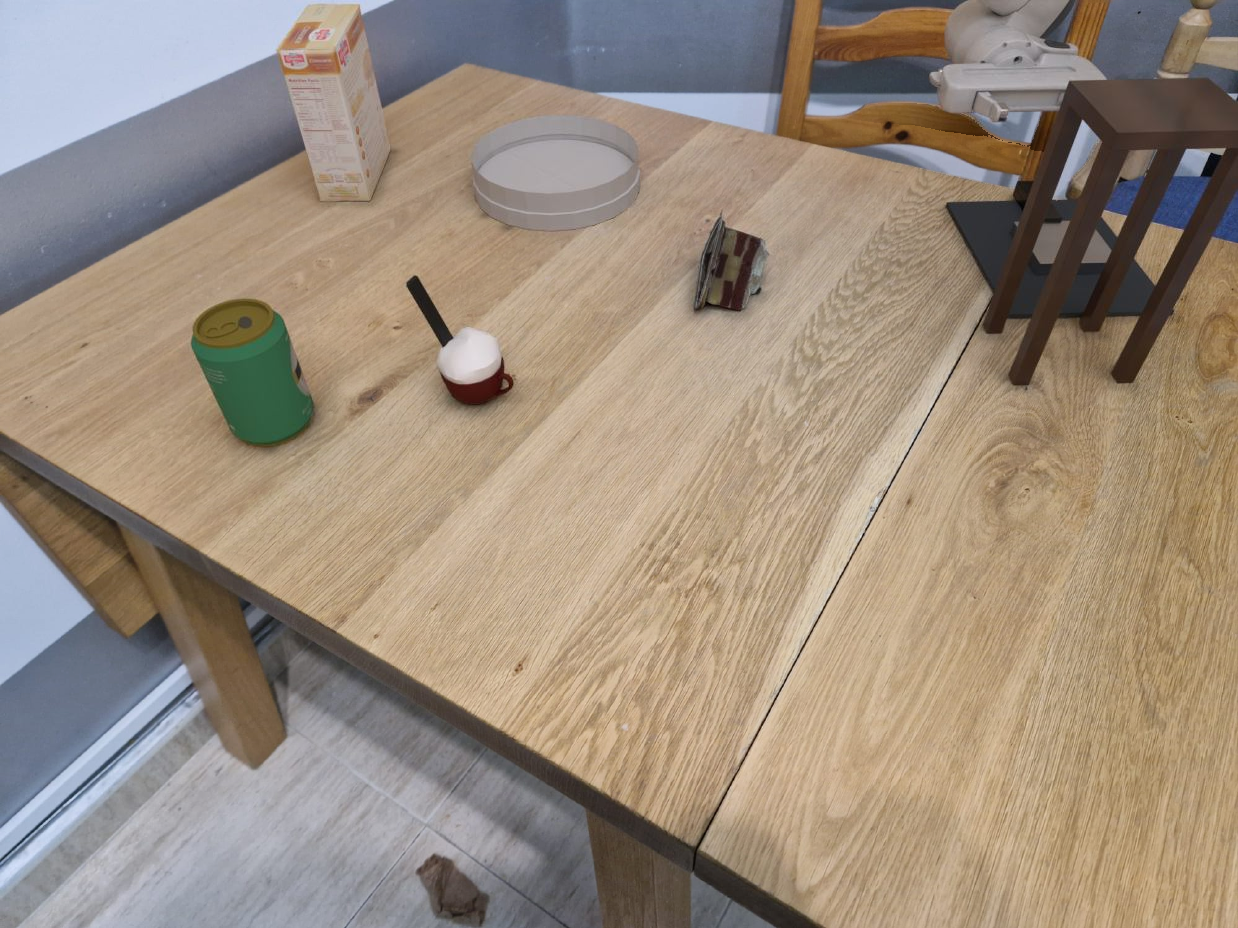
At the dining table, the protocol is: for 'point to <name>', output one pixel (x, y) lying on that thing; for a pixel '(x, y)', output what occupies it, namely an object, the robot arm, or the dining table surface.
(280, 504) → the dining table surface
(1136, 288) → the rubber mat
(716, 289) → the chocolate cake
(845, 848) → the dining table surface
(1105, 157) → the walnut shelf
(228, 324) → the beverage can
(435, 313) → the cocoa
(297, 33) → the coffeecake box
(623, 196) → the dish
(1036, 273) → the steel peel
